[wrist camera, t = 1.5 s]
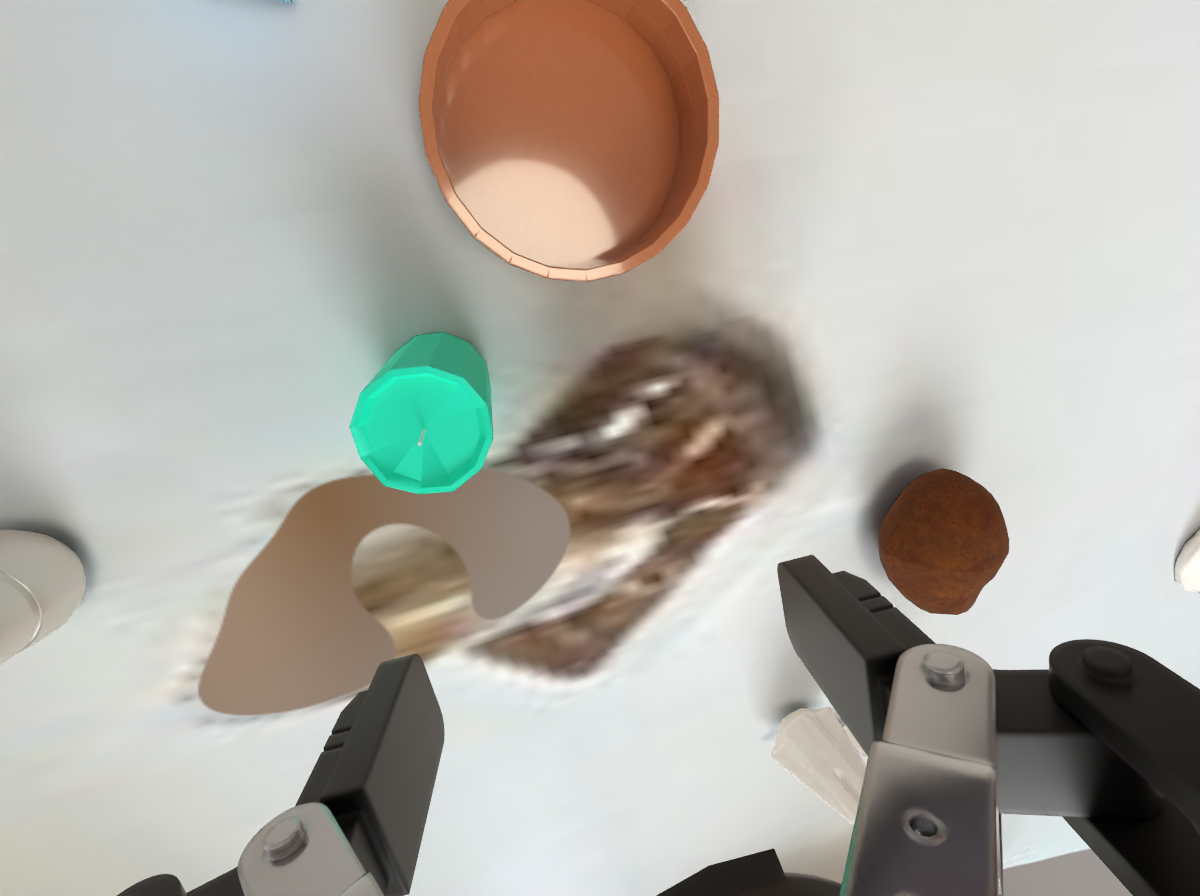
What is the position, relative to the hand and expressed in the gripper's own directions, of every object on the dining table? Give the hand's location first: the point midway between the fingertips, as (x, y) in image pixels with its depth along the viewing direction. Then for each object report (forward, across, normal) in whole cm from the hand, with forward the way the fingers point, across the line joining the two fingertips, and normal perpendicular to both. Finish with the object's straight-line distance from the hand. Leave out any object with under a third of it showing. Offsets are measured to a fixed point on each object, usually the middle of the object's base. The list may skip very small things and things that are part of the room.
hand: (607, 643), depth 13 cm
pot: (+24, -3, -15) cm, 29 cm away
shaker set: (+30, -15, +32) cm, 46 cm away
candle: (+25, +7, -4) cm, 26 cm away
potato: (+29, -23, +15) cm, 40 cm away
